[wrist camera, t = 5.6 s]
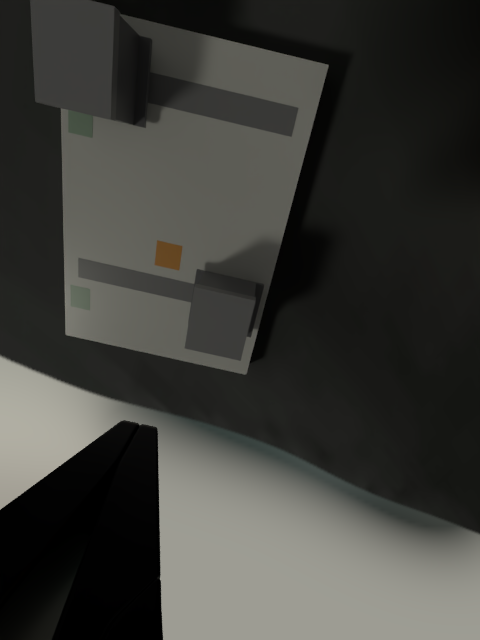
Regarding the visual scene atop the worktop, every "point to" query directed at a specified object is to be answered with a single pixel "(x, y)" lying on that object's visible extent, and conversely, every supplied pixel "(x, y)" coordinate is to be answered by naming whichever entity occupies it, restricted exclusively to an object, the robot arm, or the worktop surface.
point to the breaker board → (183, 189)
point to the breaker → (90, 60)
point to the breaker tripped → (222, 314)
